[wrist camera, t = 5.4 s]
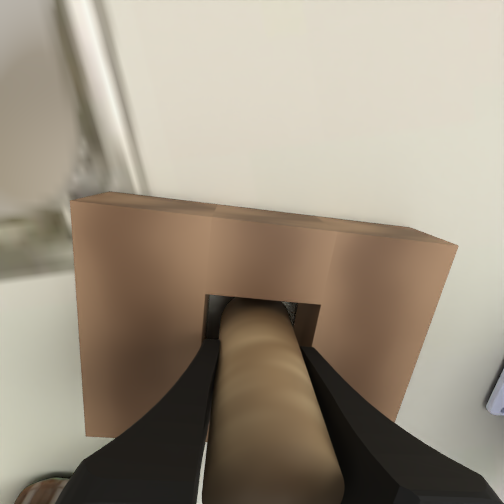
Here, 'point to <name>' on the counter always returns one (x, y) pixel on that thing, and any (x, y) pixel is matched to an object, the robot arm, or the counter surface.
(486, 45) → the counter surface
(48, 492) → the sauce bottle
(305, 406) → the oak peg
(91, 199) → the walnut board
